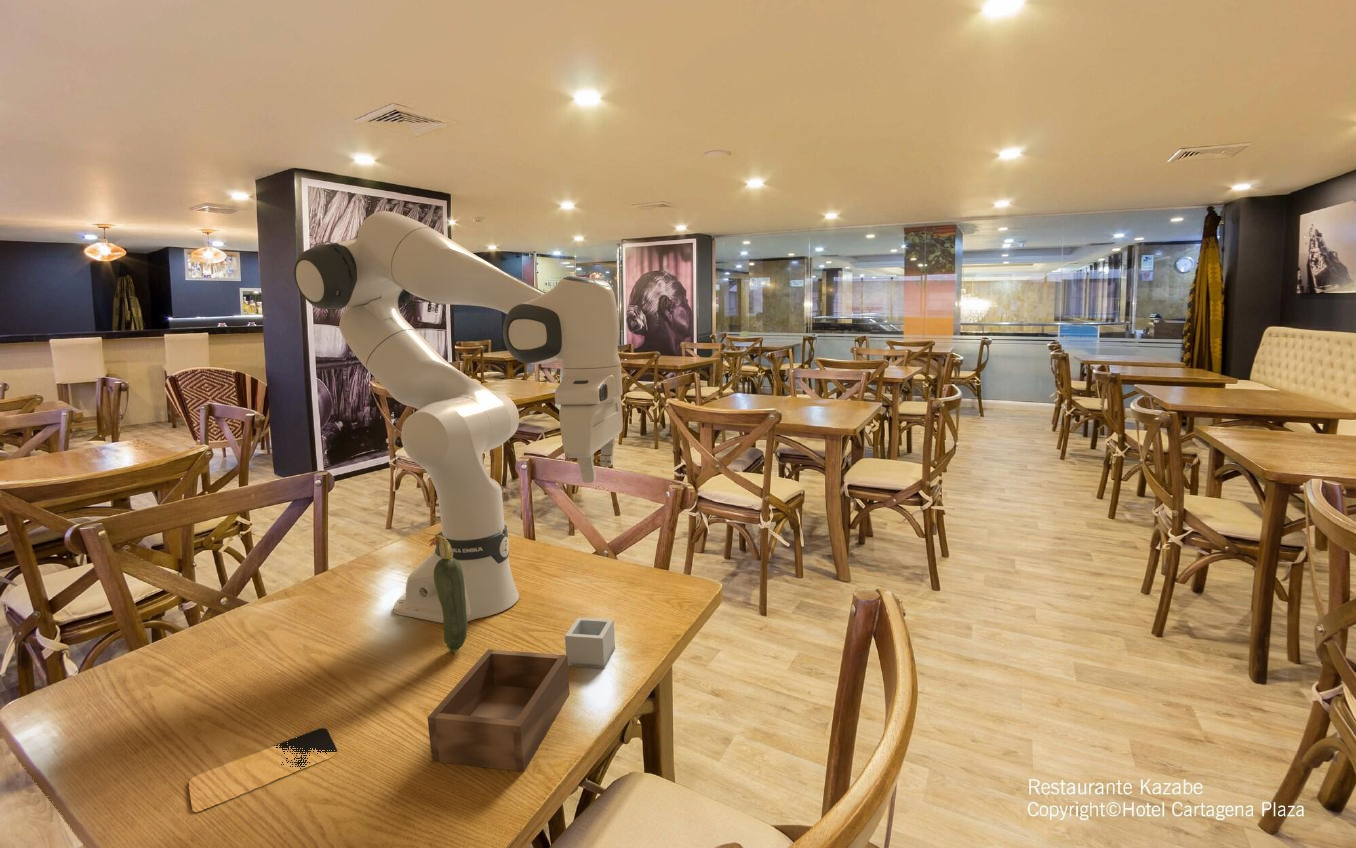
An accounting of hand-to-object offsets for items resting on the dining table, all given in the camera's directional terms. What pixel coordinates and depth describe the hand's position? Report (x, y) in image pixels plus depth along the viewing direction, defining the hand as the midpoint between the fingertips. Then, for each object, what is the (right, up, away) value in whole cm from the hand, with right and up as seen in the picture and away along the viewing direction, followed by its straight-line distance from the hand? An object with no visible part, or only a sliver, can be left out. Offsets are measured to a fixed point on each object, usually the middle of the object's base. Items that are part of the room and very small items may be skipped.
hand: (598, 473), depth 103 cm
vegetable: (-23, -29, +3) cm, 38 cm away
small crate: (-1, -29, +1) cm, 29 cm away
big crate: (-10, -32, -15) cm, 37 cm away
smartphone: (-38, -35, -22) cm, 56 cm away
